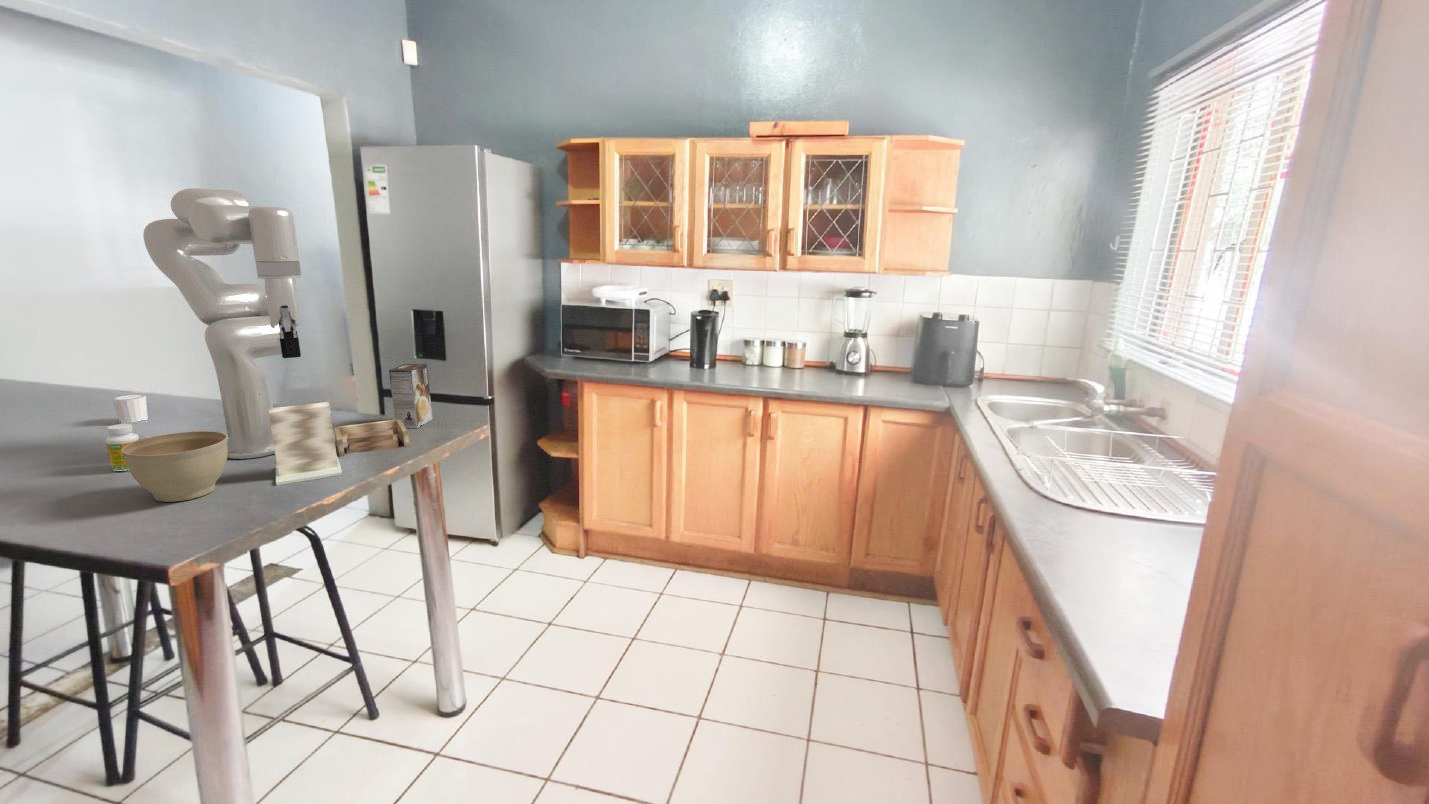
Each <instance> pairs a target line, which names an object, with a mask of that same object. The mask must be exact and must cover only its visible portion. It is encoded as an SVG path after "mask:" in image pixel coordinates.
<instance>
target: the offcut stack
mask: <svg viewBox="0 0 1429 804" xmlns="http://www.w3.org/2000/svg"><path fill="white" fill-rule="evenodd" d="M379 449H385V450H392V449H399V436H398V434H393V430H383V431H373V432H362V433H351V434H348V436H347V447H346V454H355V453H354V452H357V453H365V452H373V451H372V450H376V451H380V450H379Z"/></svg>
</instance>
